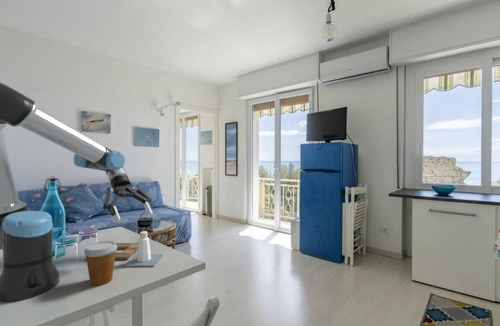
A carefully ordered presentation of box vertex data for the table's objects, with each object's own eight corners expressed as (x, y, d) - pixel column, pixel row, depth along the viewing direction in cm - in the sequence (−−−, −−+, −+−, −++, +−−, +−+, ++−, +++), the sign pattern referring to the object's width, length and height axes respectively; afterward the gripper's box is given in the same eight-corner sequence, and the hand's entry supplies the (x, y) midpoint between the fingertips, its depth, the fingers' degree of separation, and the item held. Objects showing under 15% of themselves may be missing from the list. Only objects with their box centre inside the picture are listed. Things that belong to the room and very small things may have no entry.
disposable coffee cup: (103, 272, 90) (103, 239, 90) (124, 277, 87) (123, 242, 87) (77, 285, 81) (76, 248, 81) (99, 290, 78) (98, 252, 78)
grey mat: (153, 266, 95) (153, 265, 95) (123, 267, 94) (123, 265, 94) (162, 255, 106) (162, 254, 106) (135, 255, 105) (135, 254, 105)
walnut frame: (127, 260, 101) (127, 256, 101) (86, 260, 100) (86, 256, 100) (142, 246, 117) (142, 242, 117) (107, 246, 116) (107, 243, 116)
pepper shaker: (142, 263, 96) (141, 234, 96) (133, 260, 99) (133, 232, 99) (154, 258, 101) (154, 231, 101) (145, 255, 104) (145, 229, 104)
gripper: (142, 183, 125) (159, 218, 115) (85, 187, 105) (100, 229, 96) (148, 172, 121) (166, 208, 112) (90, 175, 102) (106, 218, 93)
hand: (135, 218), depth 104 cm, fingers open, 13 cm apart
